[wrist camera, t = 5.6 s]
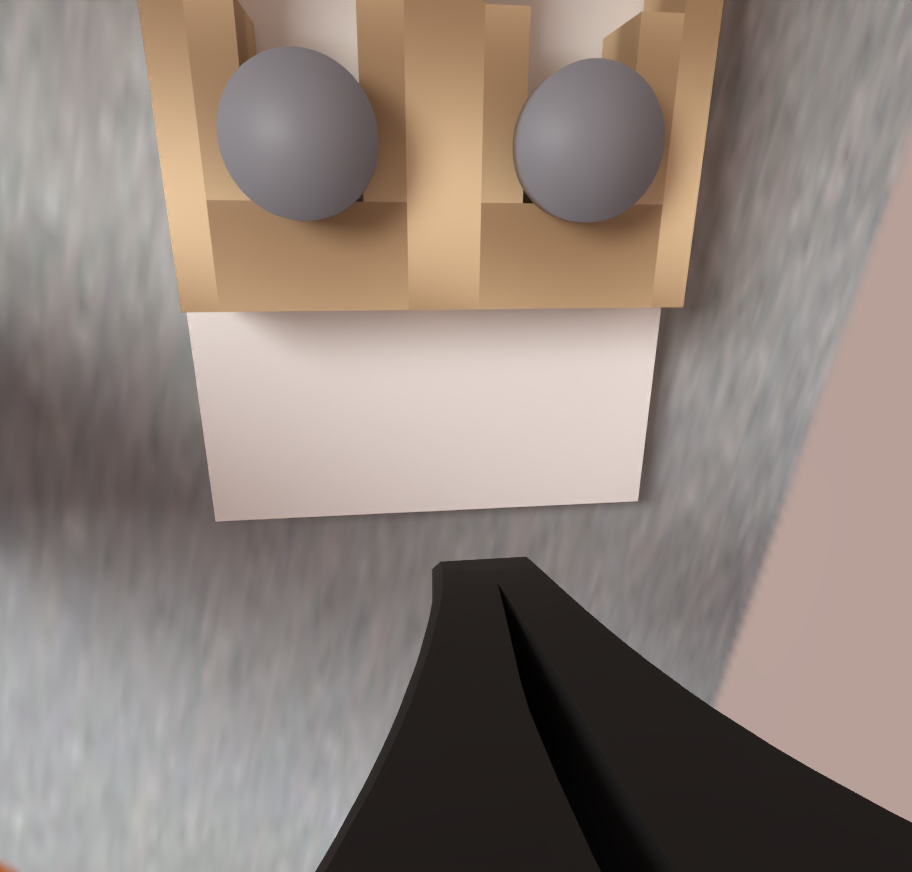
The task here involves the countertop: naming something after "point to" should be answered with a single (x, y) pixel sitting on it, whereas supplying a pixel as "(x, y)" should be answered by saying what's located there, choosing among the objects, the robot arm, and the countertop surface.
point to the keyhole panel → (427, 168)
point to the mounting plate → (427, 331)
